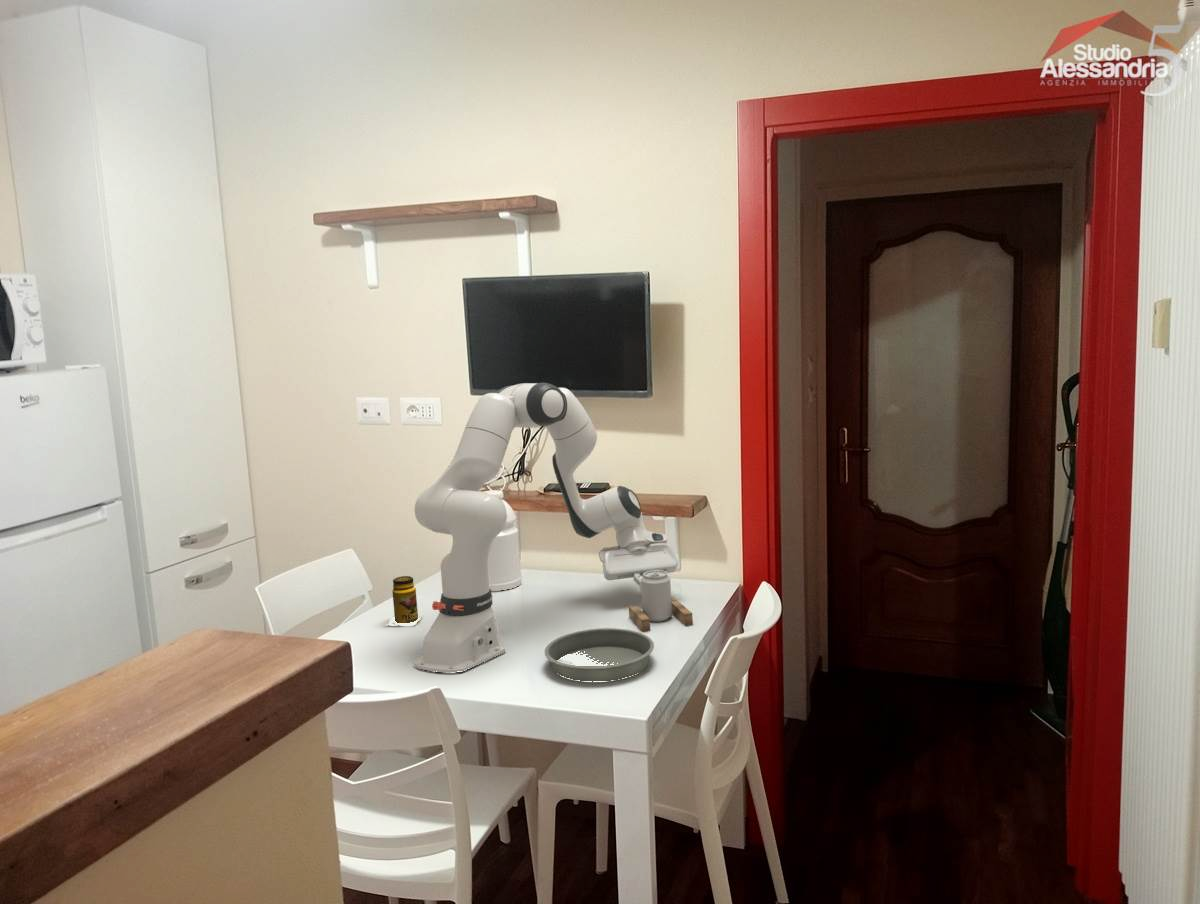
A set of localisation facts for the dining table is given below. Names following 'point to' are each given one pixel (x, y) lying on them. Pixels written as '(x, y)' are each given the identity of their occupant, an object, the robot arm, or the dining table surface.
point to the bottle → (504, 553)
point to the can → (656, 595)
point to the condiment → (404, 600)
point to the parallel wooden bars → (644, 621)
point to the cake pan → (601, 653)
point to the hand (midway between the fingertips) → (646, 588)
